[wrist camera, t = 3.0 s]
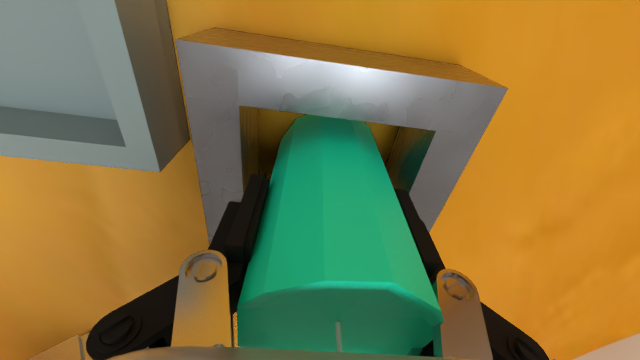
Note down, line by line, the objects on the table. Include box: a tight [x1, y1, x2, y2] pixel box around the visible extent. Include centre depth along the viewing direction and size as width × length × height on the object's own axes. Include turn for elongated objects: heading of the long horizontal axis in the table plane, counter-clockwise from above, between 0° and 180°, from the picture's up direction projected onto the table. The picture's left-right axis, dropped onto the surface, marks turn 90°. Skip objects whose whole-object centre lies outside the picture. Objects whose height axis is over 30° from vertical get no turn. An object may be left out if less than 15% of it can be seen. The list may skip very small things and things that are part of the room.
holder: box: [176, 28, 508, 244], centre depth 14 cm, size 12×12×4 cm
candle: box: [237, 114, 444, 356], centre depth 11 cm, size 6×6×12 cm
